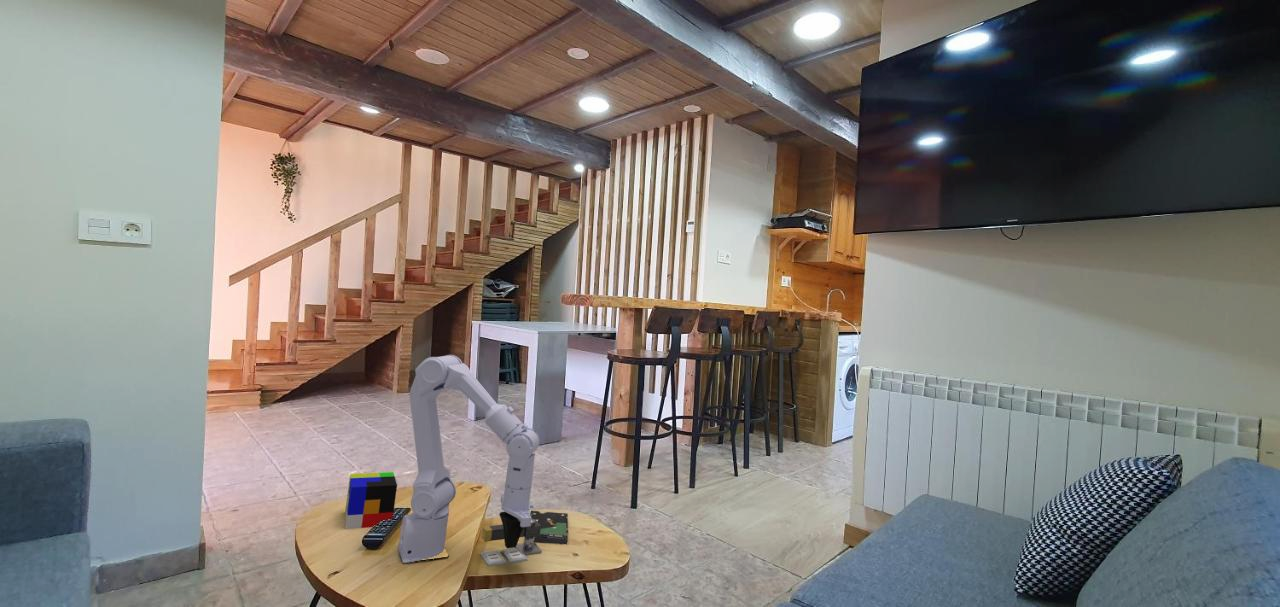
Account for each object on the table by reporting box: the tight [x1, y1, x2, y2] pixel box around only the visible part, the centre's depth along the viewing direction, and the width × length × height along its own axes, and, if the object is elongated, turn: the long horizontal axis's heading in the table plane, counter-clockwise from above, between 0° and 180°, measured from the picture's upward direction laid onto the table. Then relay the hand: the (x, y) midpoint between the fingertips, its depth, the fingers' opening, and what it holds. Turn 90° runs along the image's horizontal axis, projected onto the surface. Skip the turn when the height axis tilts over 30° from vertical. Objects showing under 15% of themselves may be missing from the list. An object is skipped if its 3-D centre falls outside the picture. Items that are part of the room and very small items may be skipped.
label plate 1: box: [480, 549, 507, 567], centre depth 119 cm, size 4×6×1 cm, turn 32°
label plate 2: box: [501, 548, 528, 564], centre depth 122 cm, size 4×6×1 cm, turn 32°
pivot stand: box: [515, 519, 543, 556], centre depth 125 cm, size 5×5×7 cm
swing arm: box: [481, 520, 541, 543], centre depth 123 cm, size 13×4×2 cm, turn 122°
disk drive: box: [530, 510, 569, 545], centre depth 137 cm, size 10×3×15 cm
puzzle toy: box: [344, 471, 398, 530], centre depth 131 cm, size 10×10×10 cm
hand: (510, 546), depth 116 cm, fingers closed
